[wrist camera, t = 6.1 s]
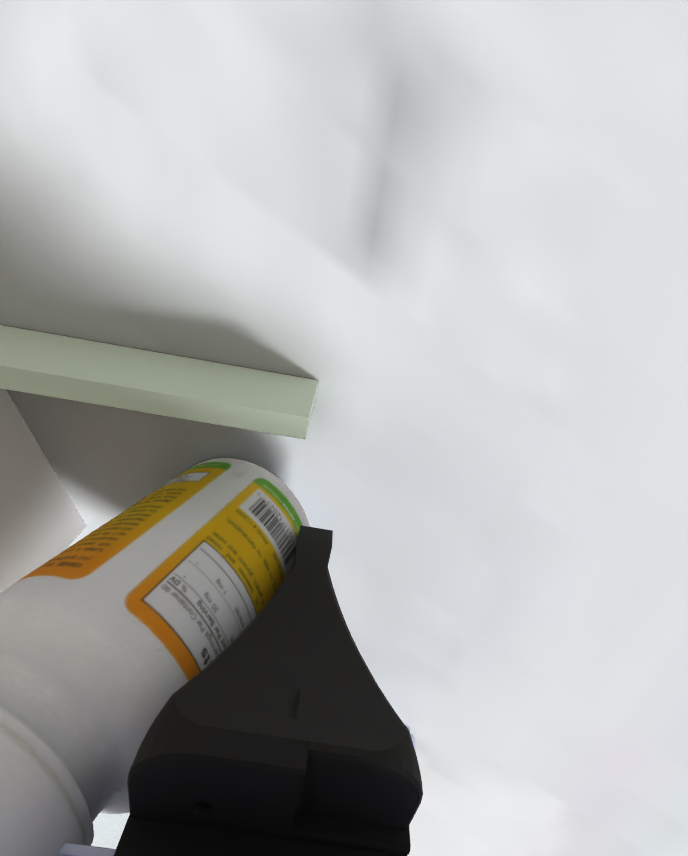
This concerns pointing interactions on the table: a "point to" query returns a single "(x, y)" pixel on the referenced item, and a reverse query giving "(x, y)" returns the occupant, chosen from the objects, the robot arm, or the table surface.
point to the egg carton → (29, 501)
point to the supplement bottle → (127, 640)
